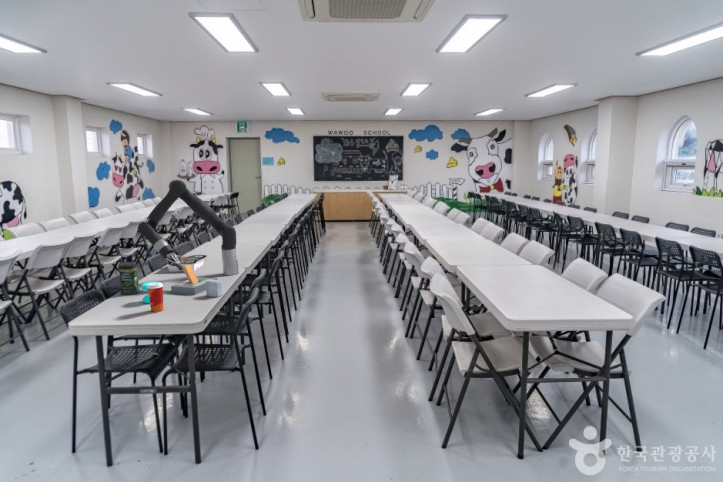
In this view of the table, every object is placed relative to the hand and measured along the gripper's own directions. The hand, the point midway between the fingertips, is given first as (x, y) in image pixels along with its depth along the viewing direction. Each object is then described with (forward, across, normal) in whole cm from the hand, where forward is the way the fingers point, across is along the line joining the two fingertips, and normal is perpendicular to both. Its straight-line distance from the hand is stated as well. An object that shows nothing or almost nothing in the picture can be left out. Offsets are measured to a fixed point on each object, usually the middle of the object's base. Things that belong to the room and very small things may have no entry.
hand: (182, 269), depth 272 cm
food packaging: (-15, +44, +32) cm, 56 cm away
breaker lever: (+12, 0, 0) cm, 12 cm away
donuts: (+9, -27, +8) cm, 29 cm away
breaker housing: (+14, 0, +2) cm, 14 cm away
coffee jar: (-8, -18, +25) cm, 31 cm away
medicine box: (+28, -10, -12) cm, 32 cm away
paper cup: (+19, -40, -2) cm, 44 cm away
